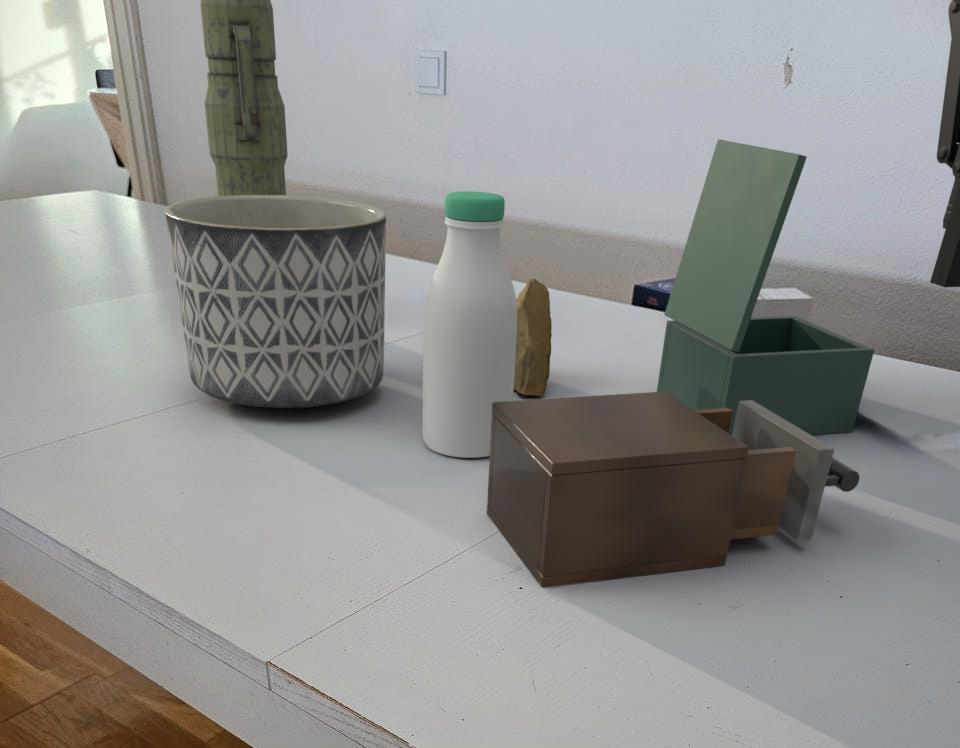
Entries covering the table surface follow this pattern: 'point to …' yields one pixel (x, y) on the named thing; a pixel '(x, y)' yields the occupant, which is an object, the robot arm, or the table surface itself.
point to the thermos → (244, 98)
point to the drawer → (779, 473)
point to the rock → (533, 340)
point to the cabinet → (612, 486)
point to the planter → (280, 297)
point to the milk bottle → (468, 329)
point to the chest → (770, 372)
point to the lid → (733, 239)
